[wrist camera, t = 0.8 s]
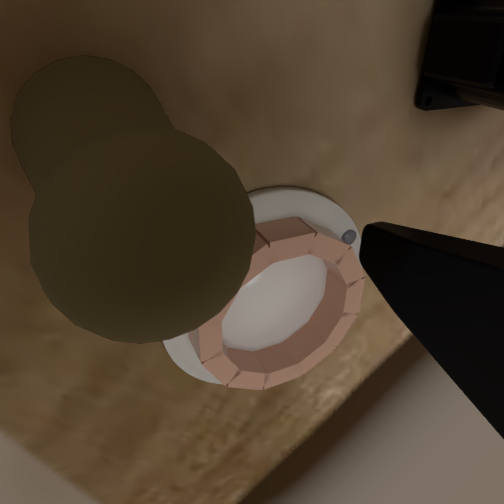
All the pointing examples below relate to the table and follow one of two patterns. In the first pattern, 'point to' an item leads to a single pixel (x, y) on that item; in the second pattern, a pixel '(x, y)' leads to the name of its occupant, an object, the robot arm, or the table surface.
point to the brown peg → (126, 205)
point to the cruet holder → (282, 296)
